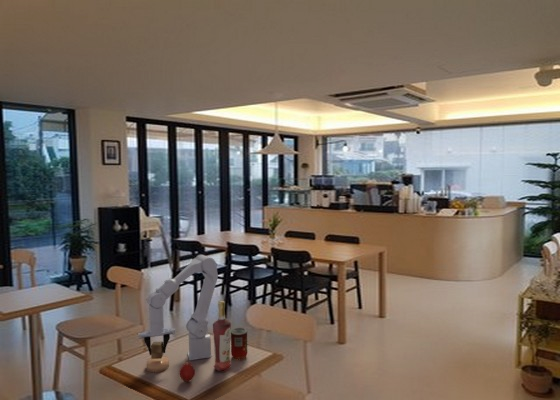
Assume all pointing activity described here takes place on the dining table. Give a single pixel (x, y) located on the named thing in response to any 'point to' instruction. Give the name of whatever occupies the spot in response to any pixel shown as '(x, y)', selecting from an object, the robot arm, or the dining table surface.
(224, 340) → the liquor
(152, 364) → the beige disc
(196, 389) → the dining table surface
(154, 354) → the walnut block
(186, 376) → the onion
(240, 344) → the soda can
